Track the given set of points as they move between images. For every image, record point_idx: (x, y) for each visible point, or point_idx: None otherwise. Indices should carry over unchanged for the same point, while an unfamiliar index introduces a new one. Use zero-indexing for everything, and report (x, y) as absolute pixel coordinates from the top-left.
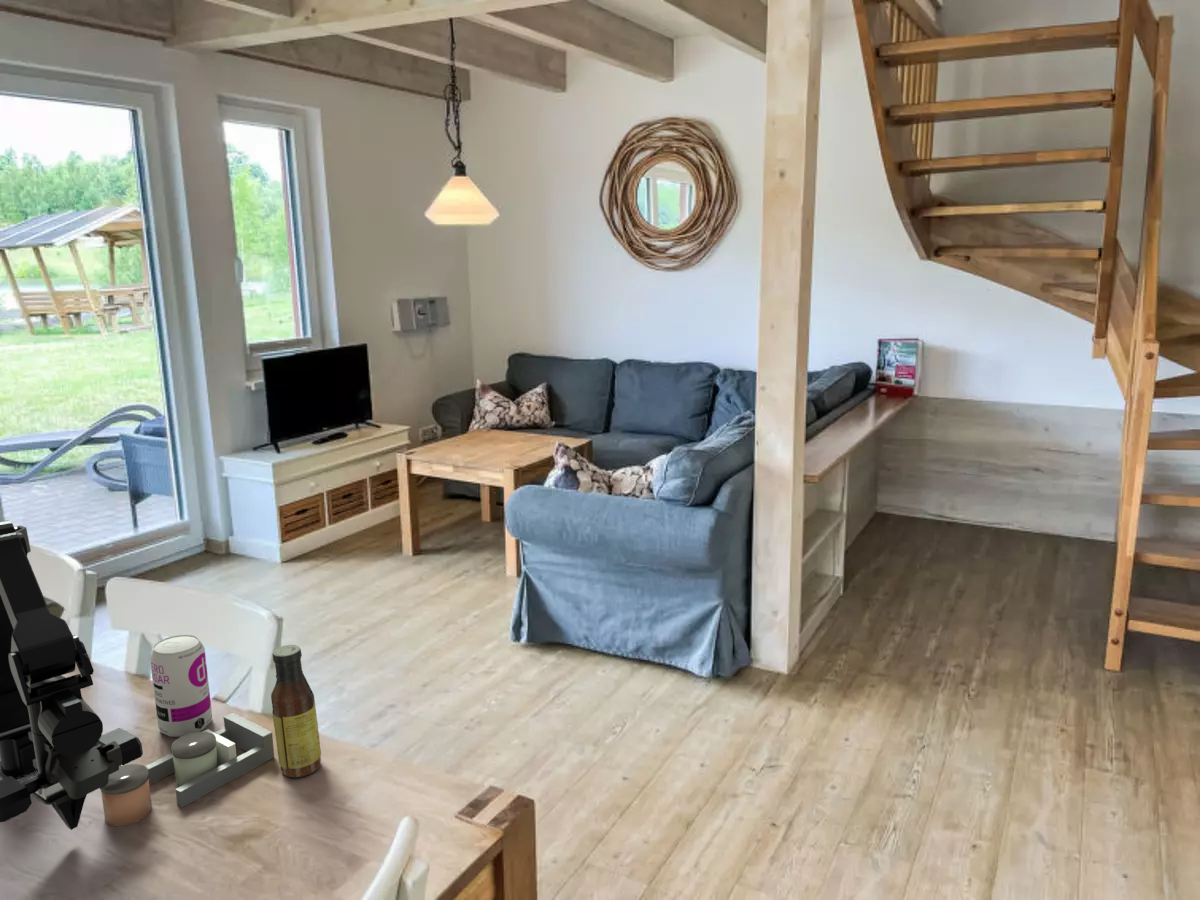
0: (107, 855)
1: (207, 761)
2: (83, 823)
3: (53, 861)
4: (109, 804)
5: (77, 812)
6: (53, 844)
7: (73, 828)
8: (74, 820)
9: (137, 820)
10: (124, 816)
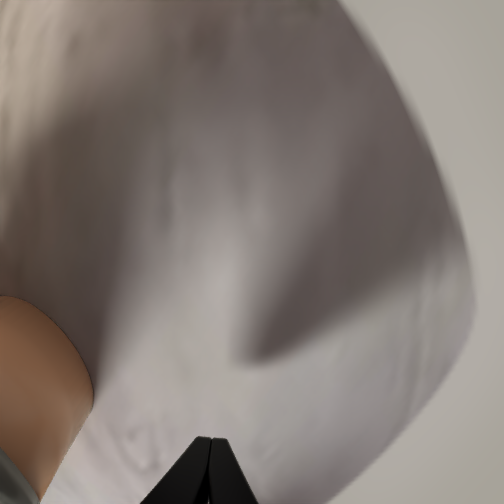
0: (188, 188)
1: None
2: (151, 446)
3: (339, 355)
4: (38, 421)
5: (180, 492)
6: (274, 435)
7: (216, 438)
8: (205, 465)
9: (16, 299)
10: (29, 336)
